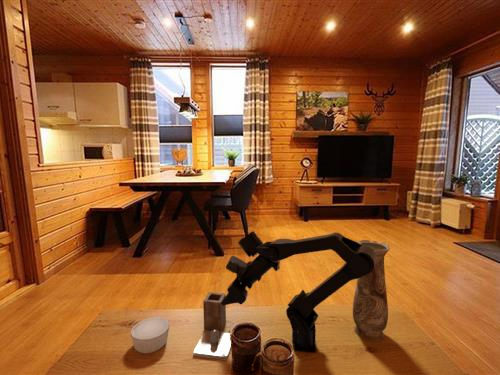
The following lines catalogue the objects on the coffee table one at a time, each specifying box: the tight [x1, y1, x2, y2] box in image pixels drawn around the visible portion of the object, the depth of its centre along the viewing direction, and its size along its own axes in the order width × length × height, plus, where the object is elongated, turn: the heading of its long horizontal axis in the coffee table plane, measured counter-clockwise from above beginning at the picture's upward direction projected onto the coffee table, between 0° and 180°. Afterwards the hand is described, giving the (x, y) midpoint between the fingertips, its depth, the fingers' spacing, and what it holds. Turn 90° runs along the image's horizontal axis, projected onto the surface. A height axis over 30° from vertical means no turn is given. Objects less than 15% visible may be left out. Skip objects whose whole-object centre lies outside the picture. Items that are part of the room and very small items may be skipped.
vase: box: [352, 239, 391, 342], centre depth 84 cm, size 10×11×30 cm
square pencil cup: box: [202, 291, 227, 332], centre depth 90 cm, size 6×6×10 cm
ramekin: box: [130, 316, 170, 354], centre depth 81 cm, size 11×11×5 cm
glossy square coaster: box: [192, 330, 232, 361], centre depth 80 cm, size 10×10×5 cm
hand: (225, 296), depth 89 cm, fingers open, 9 cm apart
